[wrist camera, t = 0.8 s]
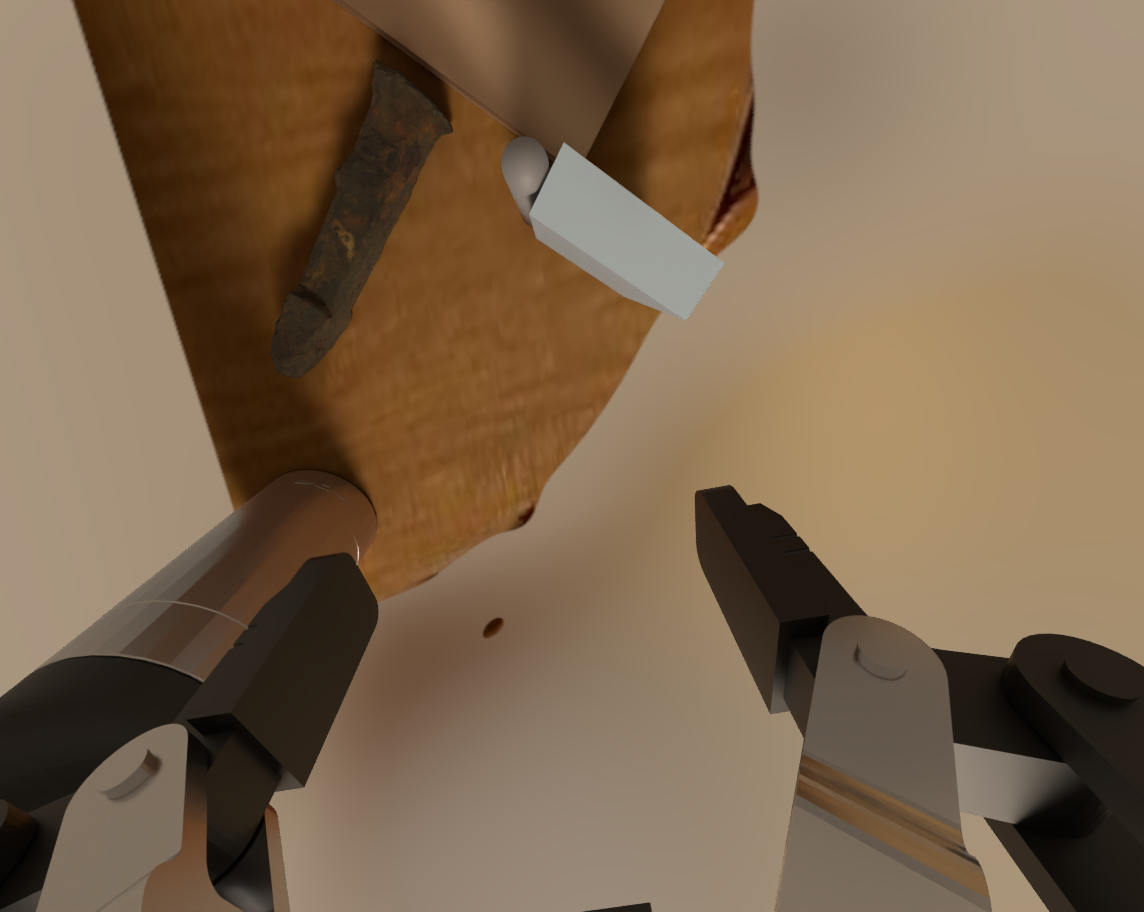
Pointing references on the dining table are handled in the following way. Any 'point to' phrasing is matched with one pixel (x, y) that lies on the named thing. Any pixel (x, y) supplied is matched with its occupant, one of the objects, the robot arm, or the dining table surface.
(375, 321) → the dining table surface
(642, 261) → the cabinet door
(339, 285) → the hand tool
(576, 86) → the hinge frame
